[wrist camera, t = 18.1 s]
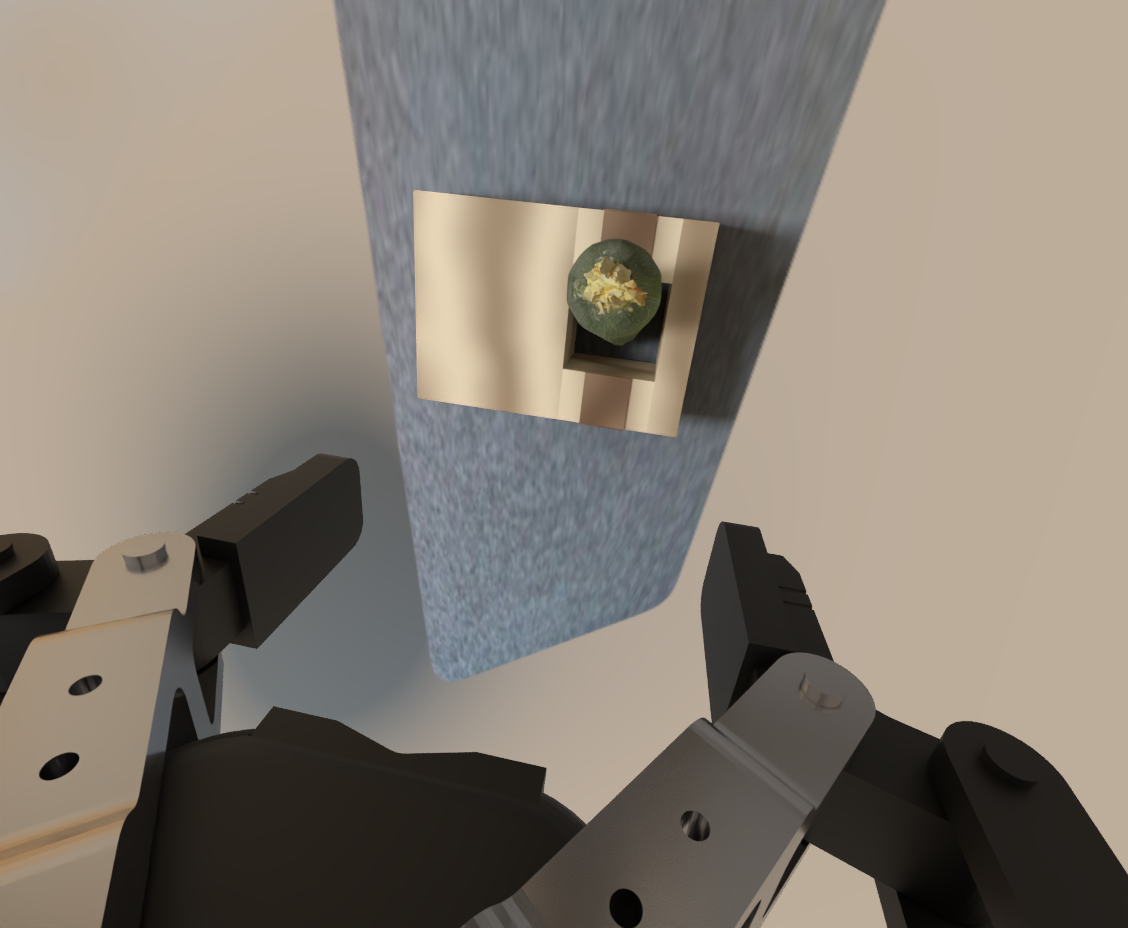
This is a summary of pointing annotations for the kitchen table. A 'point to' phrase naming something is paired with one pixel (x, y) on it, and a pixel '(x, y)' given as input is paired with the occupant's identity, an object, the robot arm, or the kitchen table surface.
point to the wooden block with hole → (546, 310)
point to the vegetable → (614, 289)
